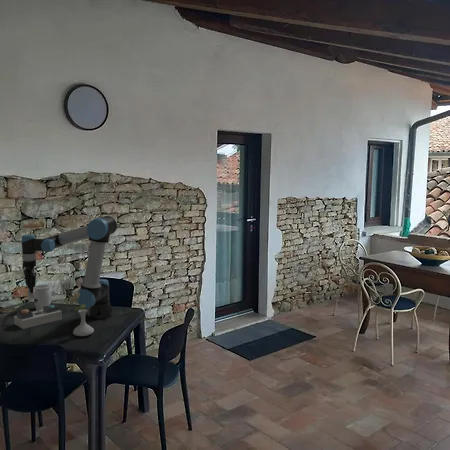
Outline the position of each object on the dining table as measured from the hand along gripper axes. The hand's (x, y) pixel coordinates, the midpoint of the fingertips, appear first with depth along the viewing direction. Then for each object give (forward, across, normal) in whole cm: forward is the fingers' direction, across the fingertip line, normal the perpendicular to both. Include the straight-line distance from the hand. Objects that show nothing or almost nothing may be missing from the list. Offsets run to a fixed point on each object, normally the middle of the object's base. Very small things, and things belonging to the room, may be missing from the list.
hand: (31, 297), depth 289 cm
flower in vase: (+13, +47, +7) cm, 50 cm away
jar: (+14, -14, +14) cm, 24 cm away
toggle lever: (+7, +8, 0) cm, 11 cm away
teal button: (+7, +8, +8) cm, 14 cm away
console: (+13, +8, 0) cm, 16 cm away
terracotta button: (+6, +8, -8) cm, 13 cm away
